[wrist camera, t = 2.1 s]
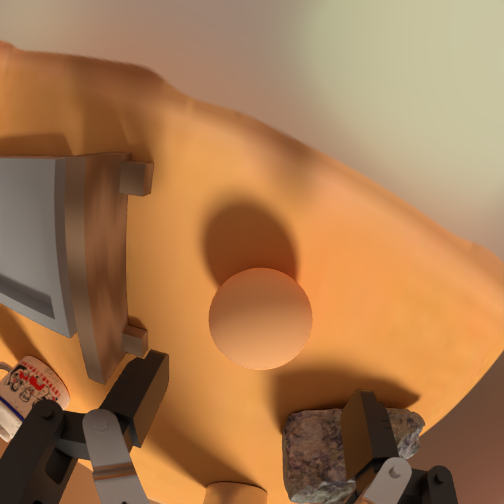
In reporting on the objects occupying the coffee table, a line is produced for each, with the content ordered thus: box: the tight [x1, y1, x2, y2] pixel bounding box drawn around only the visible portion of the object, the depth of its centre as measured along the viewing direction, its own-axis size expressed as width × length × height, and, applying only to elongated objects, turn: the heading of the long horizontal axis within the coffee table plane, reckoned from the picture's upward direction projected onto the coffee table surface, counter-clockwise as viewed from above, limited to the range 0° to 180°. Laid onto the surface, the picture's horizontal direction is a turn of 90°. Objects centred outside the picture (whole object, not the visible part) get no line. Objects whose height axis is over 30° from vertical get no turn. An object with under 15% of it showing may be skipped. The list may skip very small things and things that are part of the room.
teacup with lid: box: [0, 356, 70, 442], centre depth 22 cm, size 12×9×12 cm
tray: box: [0, 156, 77, 338], centre depth 19 cm, size 15×15×2 cm
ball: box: [209, 268, 312, 370], centre depth 16 cm, size 6×6×6 cm
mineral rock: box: [282, 407, 425, 504], centre depth 19 cm, size 13×11×10 cm
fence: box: [65, 152, 154, 385], centre depth 17 cm, size 16×5×5 cm, turn 170°
